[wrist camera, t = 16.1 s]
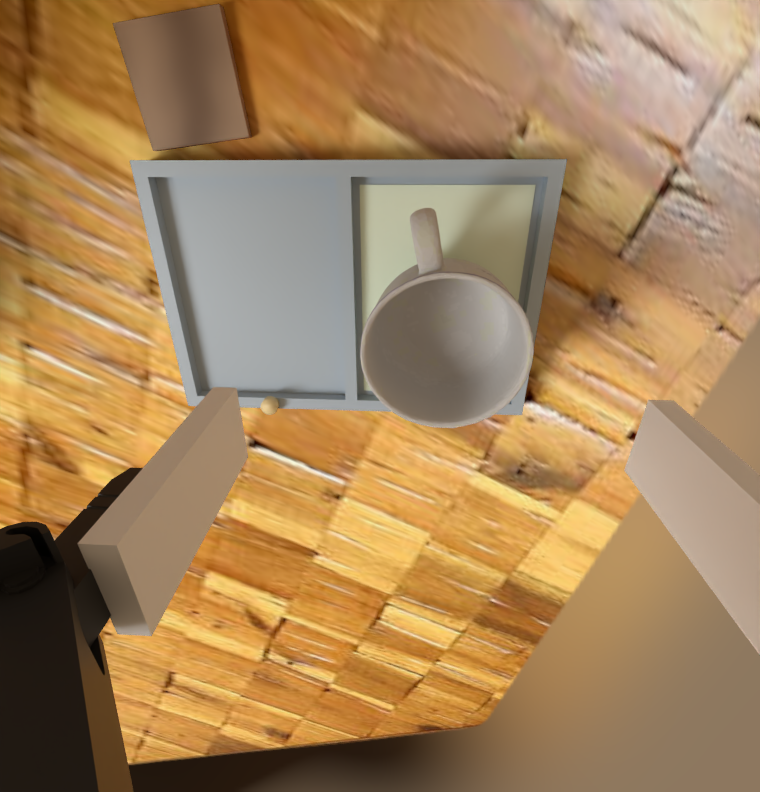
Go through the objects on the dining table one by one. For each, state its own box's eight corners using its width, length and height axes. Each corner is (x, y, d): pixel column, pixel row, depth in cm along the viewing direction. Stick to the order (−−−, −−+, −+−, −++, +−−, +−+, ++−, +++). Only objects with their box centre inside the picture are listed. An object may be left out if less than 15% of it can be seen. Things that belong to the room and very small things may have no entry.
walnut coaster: (161, 151, 31) (153, 150, 30) (123, 28, 28) (112, 23, 27) (254, 137, 30) (248, 136, 29) (226, 10, 27) (219, 3, 26)
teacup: (500, 381, 36) (522, 432, 29) (371, 380, 37) (363, 431, 30) (521, 198, 30) (556, 208, 23) (364, 202, 30) (351, 213, 23)
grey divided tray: (199, 396, 40) (184, 412, 37) (147, 161, 31) (122, 160, 28) (515, 404, 38) (523, 421, 36) (556, 159, 30) (571, 159, 27)
